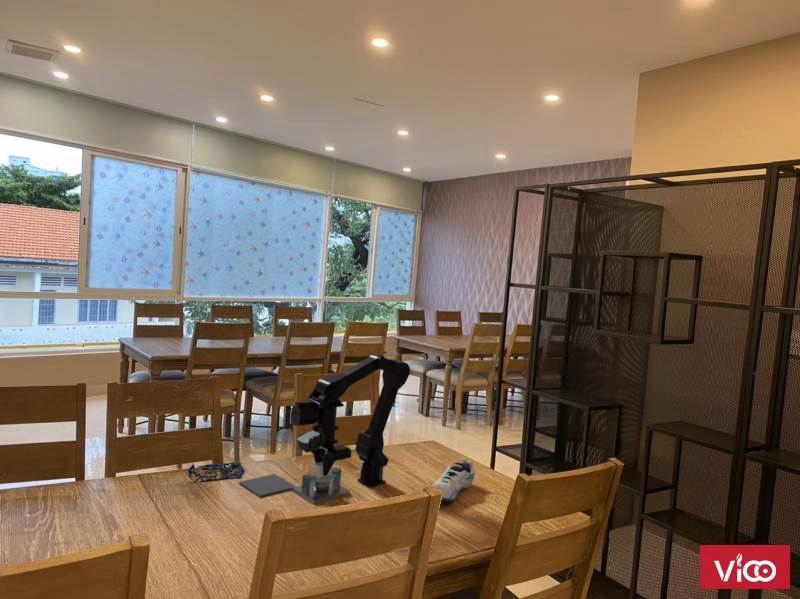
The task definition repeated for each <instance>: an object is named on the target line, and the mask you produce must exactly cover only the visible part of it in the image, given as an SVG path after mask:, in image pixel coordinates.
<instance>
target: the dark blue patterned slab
mask: <svg viewBox="0 0 800 599" xmlns="http://www.w3.org/2000/svg"><path fill="white" fill-rule="evenodd" d="M229 464H231V465H229ZM223 465H224V466H223ZM225 465H226V466H225ZM202 467H209V468H202ZM223 467H224V468H223ZM193 468H196V467H195V464H194V463H193V464H192V465H191V466H190V467H189V468H188V469H187V473H188V476H189V477H191V476H192V477H193V476H194V475H195V474H196V475H197V476H201V477H198V478H199V479H197V476H196V475H195V476H194V478H196V479H194V482H197V480H198V481H199V480H200V482H199V483H201V482H207V480H211V481H212V480H221V479H224V478H225V479H233V478H234V479H237V478H239V477H240V475H241V474H242V471H243V470H244V469H245V467H244V466H243V465H242V462H241V460H236V461H231V462H227V463H226V462H225V463H208V464H204V465H198V466H197V469H198V468H200V469H198V472H197V470H196V471H194V470H193V471H191V470H192V469H193ZM210 468H212V469H210ZM206 469H209V470H207V471H205V470H206ZM201 470H202V471H203V472H202V475H203V476H202V475H201V474H200V473H201ZM196 472H197V473H196ZM203 473H204V474H205V475H204V474H203ZM207 473H208V474H207ZM208 476H209V477H208ZM224 476H225V477H224ZM192 477H191V478H192ZM203 477H204V478H203ZM216 477H217V478H216ZM200 478H201V479H200ZM205 478H206V479H205Z"/></svg>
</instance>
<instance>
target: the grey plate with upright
mask: <svg viewBox="0 0 800 599" xmlns="http://www.w3.org/2000/svg"><path fill="white" fill-rule="evenodd" d="M332 473H334V474H336V473H337V477H334V478H332V481H331V482H328V483H317V482H314V483H310V480H312V479H315V476H313V475H312V474H311V473H307V474H303V475H302V480H301V485H299V486H296V487H293V488H292V490H291V492H293V493H294V494H296V495H297V496H299V497H301V498H302V499H304V500H306V501H307V502H309V503H311V504H313V505H316V504H320V503H323V502H327V501H330V500H333V499H337V498H340V497H345V496H348V495H351V490H349V489H347V488H346V487H344V486H342V485H341V481H342V480H341V478H342V469H340V468H339V467H332Z"/></svg>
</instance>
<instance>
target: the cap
mask: <svg viewBox="0 0 800 599" xmlns="http://www.w3.org/2000/svg"><path fill="white" fill-rule="evenodd" d="M332 468H333V466H332V467H331V469H330V471H329V473H328V475H327V476H323V462H319V463H315V462H314V463H313V470H312V474H311V475H313V476H315V479H312V480H310V483H314V482H317V483H328V482H331V481H333V478H334V477H337V473H336V474H334V473H332Z"/></svg>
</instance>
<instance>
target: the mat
mask: <svg viewBox="0 0 800 599" xmlns="http://www.w3.org/2000/svg"><path fill="white" fill-rule="evenodd" d="M239 485H240V486H242V487H243V488H244V489H246V490H248V491H249V492H251V493H252V494H254V495H256V496H257V497H258V498H264V497H269V496H272V495H275V494H276V495H277V494H281V493H283V492H288V491H292V488H293V487H297V486H296V485H295V484H293V483H291V482H289V481H287V480H286V479H283V477H280V476H279V475H278V474H275V473H273V474H268V475H264V476H260V477H255V478H249V479H245V480H241V481H239Z"/></svg>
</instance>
